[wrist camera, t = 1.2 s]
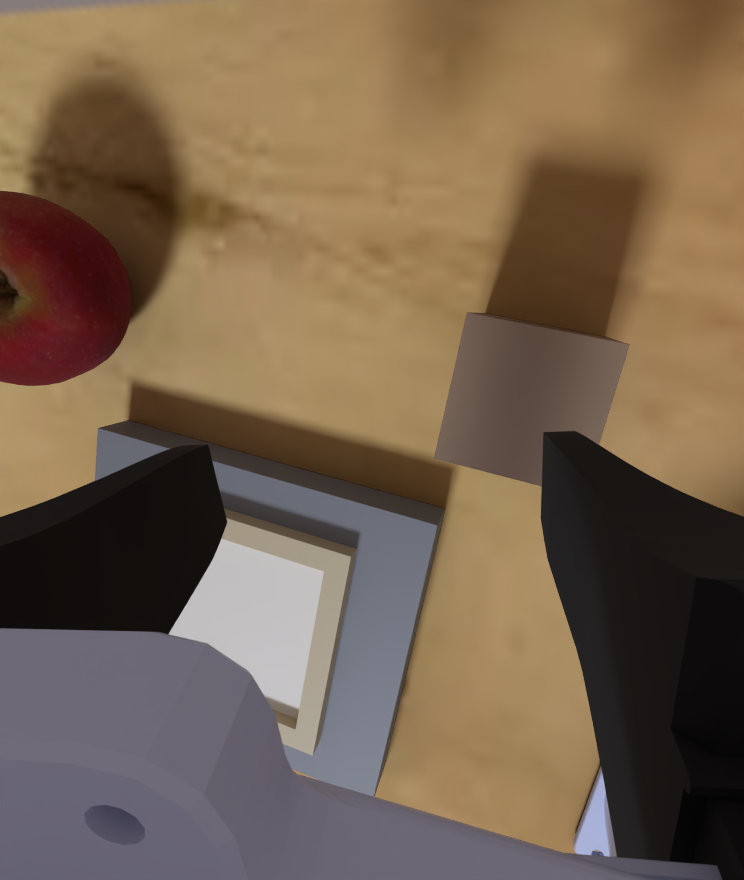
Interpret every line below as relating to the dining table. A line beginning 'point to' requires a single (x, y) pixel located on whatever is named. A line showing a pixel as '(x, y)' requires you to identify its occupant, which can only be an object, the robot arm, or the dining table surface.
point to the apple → (56, 293)
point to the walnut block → (524, 393)
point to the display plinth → (307, 598)
